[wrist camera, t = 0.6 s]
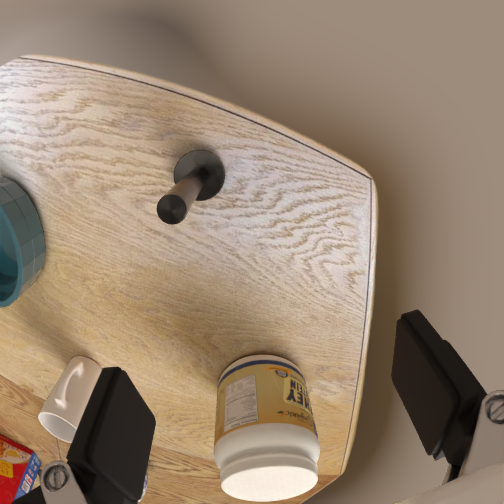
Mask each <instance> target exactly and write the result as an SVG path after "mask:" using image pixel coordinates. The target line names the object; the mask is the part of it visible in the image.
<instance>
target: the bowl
mask: <svg viewBox="0 0 504 504" xmlns="http://www.w3.org/2000/svg"><path fill="white" fill-rule="evenodd" d="M44 256H45V243H44V234H43V229H42V226H41V223H40V220H39V216H38V213H37V211H36V209H35V207H34V205H33V204H32V202H31V200H30V199H29V197H28V195H27V194H26V193H25V192H24V191H23V190H22V189H21V188H20V187H19V186H18V185H17V184H16V183H15V182H13V181H11V180H9V179H7V178H5V177H0V307H6V306H9V305H11V304H12V303H13V302H14V301H15V300H16V299H17V298H18V297H19V296H20V295H21V294H22V293H23V292H24V291H25V290H27V289H28V288H29V287H30V286H31V285H32V284H33V283H34V282H35V281H36V280H37V279H38V277H39V274H40V272H41V270H42V268H43V264H44Z"/></svg>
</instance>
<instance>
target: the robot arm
mask: <svg viewBox="0 0 504 504" xmlns="http://www.w3.org/2000/svg"><path fill="white" fill-rule="evenodd" d="M391 376H392V381H393V384H394V386H395V388H396V390H397V392H398V394H399V396H400V398H401V400H402V402H403V404H404V406H405V408H406V410H407V412H408V414H409V416H410V418H411V420H412V423H413V425H414V427H415V429H416V431H417V433H418V435H419V437H420V440H421V442H422V444H423V446H424V448H425V451H426V453H427V454H428V455H433V457H434V459H435V461H436V460H438V459H440V458H442V457H446V459H447V461H448V463H449V467H448V469H447V472H446V475H445V478H444V480H443V483H442V485H441V486H438V487H436V488H434V489H431V490H429V491H427V492H424V493H422V494H419V495H417V496H414V497H411V498H409V499H406V500H403V501H400V502H398V503H395V504H504V390H496V391H493V392H491V393H489V394H488V395H487V393H486V392H485V390H484V389H483V387H482V386H481V385H480V383H479V382H478V380H477V379H476V378H475V376H474V375H473V374H472V372H471V371H470V370H469V368H468V367H467V365H466V364H465V363H464V361H463V360H462V359H461V357H460V356H459V355H458V353H457V352H456V351H455V350H454V348H453V347H452V346H451V344H450V343H449V342H447V341H446V340H442V338H441V337H440V335H439V334H438V333H437V332H436V330H435V329H434V328H433V327H432V326H431V324H430V323H429V322H428V320H427V319H426V318H425V317H424V315H423V314H422V313H421V312H420V311H419V310H414V311H411V312H407V313H405V314H402V316H401V319H399V320H398V321H397V326H396V339H395V348H394V357H393V366H392V374H391ZM155 425H156V421H155V417H154V415H153V414H152V412H151V411H150V409H149V408H148V406H147V405H146V403H145V402H144V400H143V399H142V397H141V396H140V394H139V392H138V391H137V389H136V388H135V386H134V385H133V383H132V381H131V380H130V378H129V376H128V375H127V373H126V372H125V371H124V370H121V368H119V367H107V368H103V369H102V371H101V373H100V375H99V378H98V380H97V382H96V384H95V387H94V389H93V391H92V394H91V396H90V398H89V401H88V403H87V406H86V408H85V410H84V413H83V415H82V418H81V420H80V423H79V425H78V428H77V430H76V433H75V435H74V438H73V441H72V443H71V446H70V449H69V451H68V454H67V457H66V458H67V459H68V461H67V463H65V462H63V461H53V462H50V463H49V464H48V465H46V466H45V467H44V469H43V470H42V472H41V474H40V486H38V487H37V488H35V489H33V490H31V491H30V492H28V493H26V494H25V495H23V496H21V497H19V498H17V499H16V500H14V501H13V502H12V503H11V504H137V503H138V500H140V499H141V498H142V493H143V488H144V482H145V476H146V471H147V466H148V460H149V455H150V450H151V445H152V440H153V435H154V430H155Z"/></svg>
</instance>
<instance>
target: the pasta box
mask: <svg viewBox="0 0 504 504" xmlns="http://www.w3.org/2000/svg"><path fill="white" fill-rule="evenodd" d="M40 466H41V462H40V461H39V459H38V457H37V456H36V454H35V453H34V451H33V450H30V449H28V448H26V447H24V446H22V445H20V444H18V443H16V442H14V441H12V440H10V439H8V438H7V437H5V436H3V435H1V434H0V504H11V503H12V502H13V501H14V500H16V499H17V498H19V497H21V496H23V495H25V494H26V493H28V492H30V491H31V489H32V486H33V484H34V481H35V478H36V476H37V473H38V471H39V468H40Z"/></svg>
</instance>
